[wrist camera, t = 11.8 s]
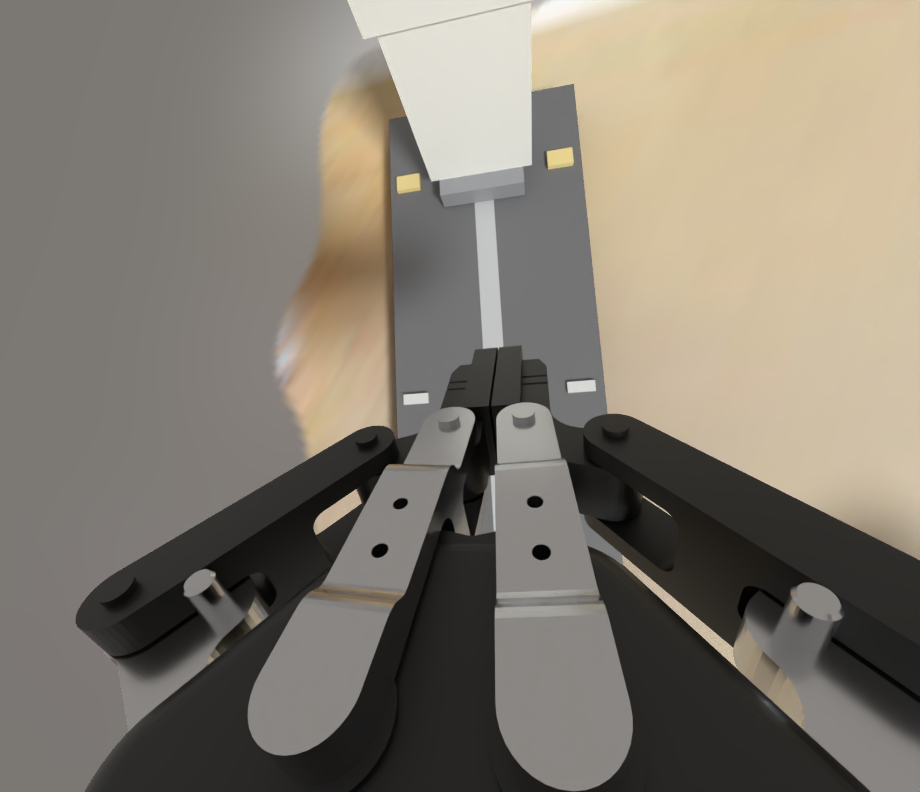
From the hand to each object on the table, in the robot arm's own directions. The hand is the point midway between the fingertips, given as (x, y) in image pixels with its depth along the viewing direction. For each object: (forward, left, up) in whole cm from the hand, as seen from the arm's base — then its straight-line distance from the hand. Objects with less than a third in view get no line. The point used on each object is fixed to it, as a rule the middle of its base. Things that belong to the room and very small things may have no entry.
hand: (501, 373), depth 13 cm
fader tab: (+1, -15, -10) cm, 18 cm away
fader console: (+1, -5, -12) cm, 13 cm away
